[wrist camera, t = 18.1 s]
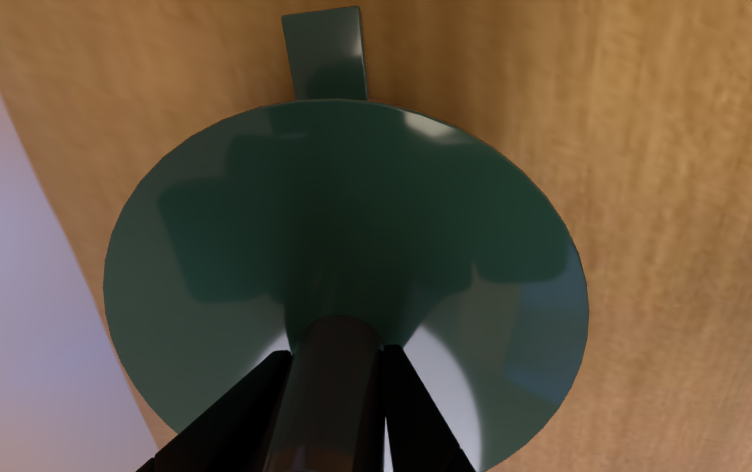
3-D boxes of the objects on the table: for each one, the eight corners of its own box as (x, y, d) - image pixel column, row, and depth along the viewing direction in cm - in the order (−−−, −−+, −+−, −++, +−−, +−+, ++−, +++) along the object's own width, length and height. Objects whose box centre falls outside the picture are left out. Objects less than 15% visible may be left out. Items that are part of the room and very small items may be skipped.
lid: (600, 65, 8) (940, 34, 3) (549, 463, 12) (644, 694, 8) (53, 126, 9) (-360, 176, 4) (203, 472, 13) (102, 681, 9)
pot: (476, 18, 15) (529, -24, 9) (474, 337, 22) (505, 430, 16) (217, 50, 16) (118, 30, 10) (290, 347, 23) (255, 439, 17)
